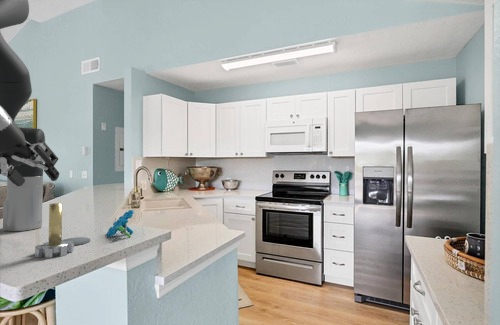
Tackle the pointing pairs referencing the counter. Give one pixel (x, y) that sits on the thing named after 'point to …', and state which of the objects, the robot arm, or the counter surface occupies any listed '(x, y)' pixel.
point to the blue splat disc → (121, 225)
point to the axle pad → (78, 240)
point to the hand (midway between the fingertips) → (39, 181)
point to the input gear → (54, 236)
